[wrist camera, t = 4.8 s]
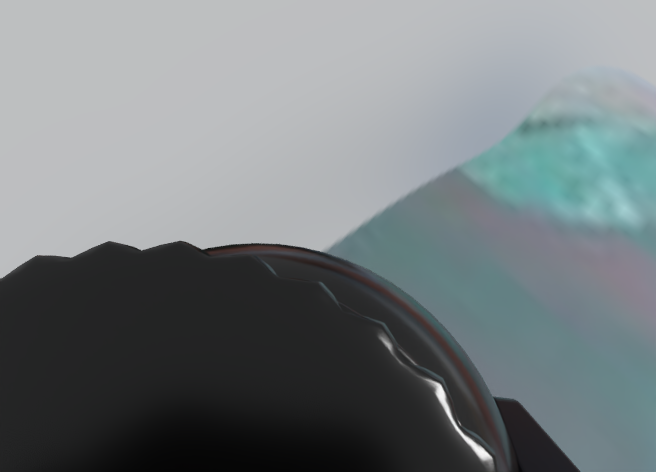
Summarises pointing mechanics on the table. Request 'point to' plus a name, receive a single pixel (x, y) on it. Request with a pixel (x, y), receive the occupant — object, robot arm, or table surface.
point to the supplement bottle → (233, 367)
